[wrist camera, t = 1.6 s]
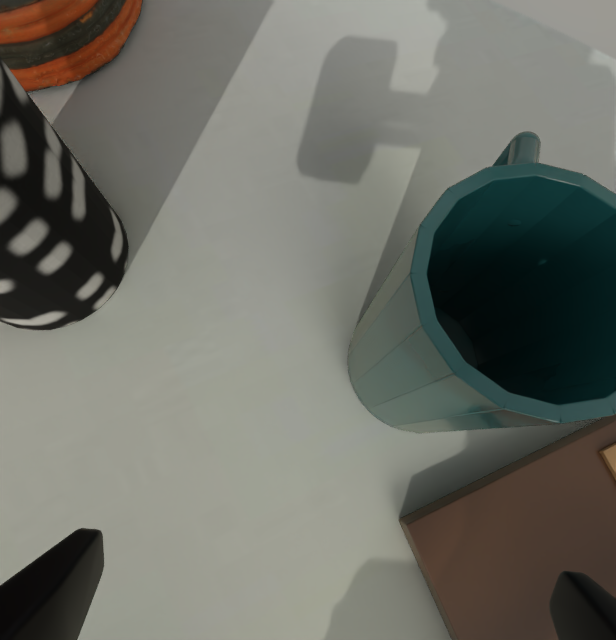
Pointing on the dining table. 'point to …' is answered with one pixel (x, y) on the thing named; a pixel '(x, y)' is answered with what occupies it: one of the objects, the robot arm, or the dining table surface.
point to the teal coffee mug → (497, 305)
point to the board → (521, 537)
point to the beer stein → (62, 38)
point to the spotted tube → (50, 223)
